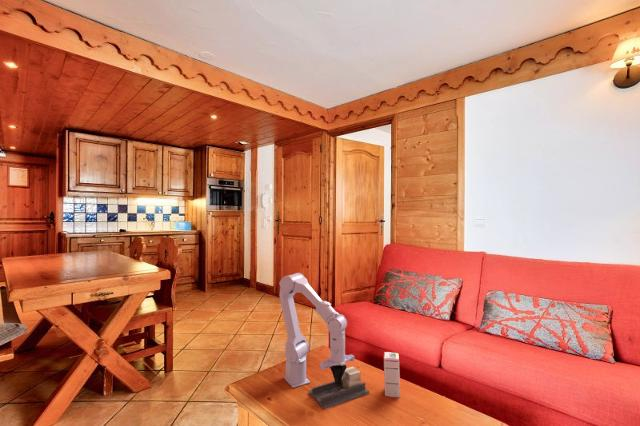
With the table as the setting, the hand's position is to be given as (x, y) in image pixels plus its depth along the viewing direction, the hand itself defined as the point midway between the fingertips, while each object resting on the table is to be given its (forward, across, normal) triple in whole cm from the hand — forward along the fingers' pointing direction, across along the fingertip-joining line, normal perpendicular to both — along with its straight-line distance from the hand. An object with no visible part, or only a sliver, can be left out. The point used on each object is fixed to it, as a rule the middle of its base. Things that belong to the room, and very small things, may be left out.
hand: (337, 383), depth 121 cm
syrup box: (+4, +18, -10) cm, 21 cm away
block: (+3, +6, 0) cm, 7 cm away
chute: (+4, 0, 0) cm, 4 cm away
